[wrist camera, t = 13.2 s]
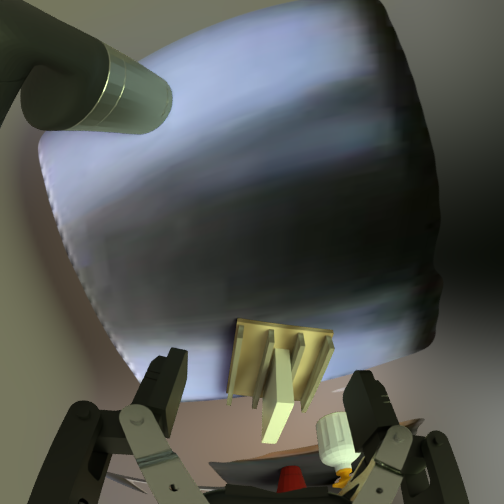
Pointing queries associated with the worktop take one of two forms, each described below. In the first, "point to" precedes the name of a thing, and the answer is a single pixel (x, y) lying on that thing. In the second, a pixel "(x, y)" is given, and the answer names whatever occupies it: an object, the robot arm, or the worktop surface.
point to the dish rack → (261, 353)
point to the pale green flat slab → (277, 396)
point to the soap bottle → (336, 445)
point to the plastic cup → (290, 479)
